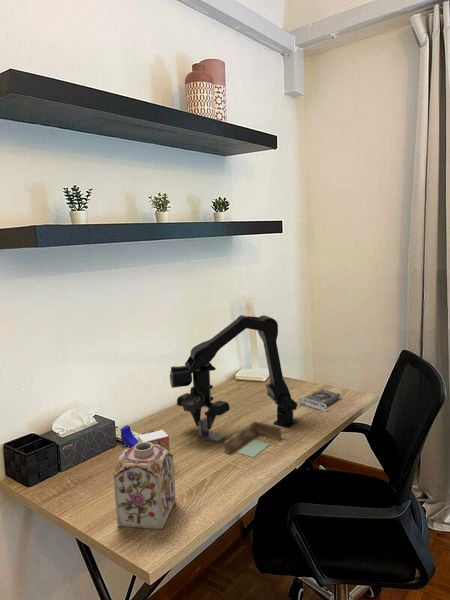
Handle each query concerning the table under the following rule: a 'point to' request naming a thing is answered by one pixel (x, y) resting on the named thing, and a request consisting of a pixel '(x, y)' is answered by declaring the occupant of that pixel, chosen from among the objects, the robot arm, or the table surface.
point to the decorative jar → (144, 486)
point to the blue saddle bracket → (129, 437)
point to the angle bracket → (206, 434)
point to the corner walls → (251, 435)
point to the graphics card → (319, 399)
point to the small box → (156, 439)
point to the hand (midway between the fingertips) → (203, 427)
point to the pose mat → (253, 448)
